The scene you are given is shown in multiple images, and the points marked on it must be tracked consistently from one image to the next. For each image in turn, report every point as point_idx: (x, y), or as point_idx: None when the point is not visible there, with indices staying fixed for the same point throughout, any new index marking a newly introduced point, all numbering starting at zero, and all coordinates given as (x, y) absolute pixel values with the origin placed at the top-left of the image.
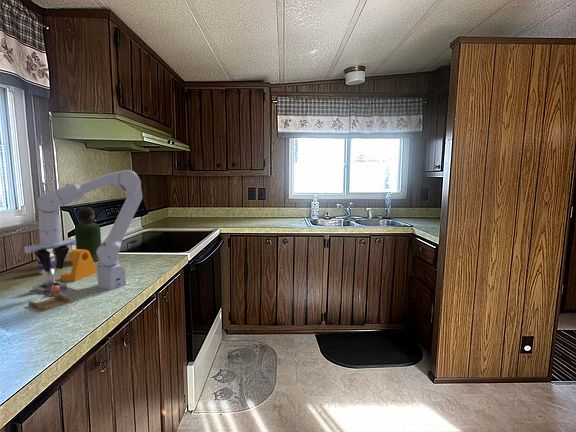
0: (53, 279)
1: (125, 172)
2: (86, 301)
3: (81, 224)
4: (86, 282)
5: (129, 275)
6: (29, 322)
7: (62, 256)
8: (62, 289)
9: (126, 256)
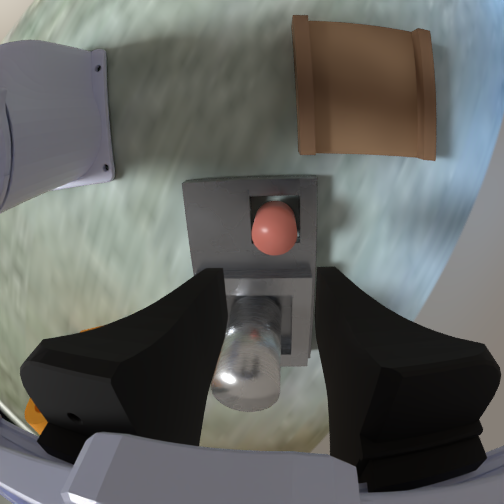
0: (239, 327)
1: None
2: (219, 16)
3: None
4: (109, 291)
5: None
6: (463, 17)
7: (163, 321)
8: (224, 256)
9: (3, 394)
